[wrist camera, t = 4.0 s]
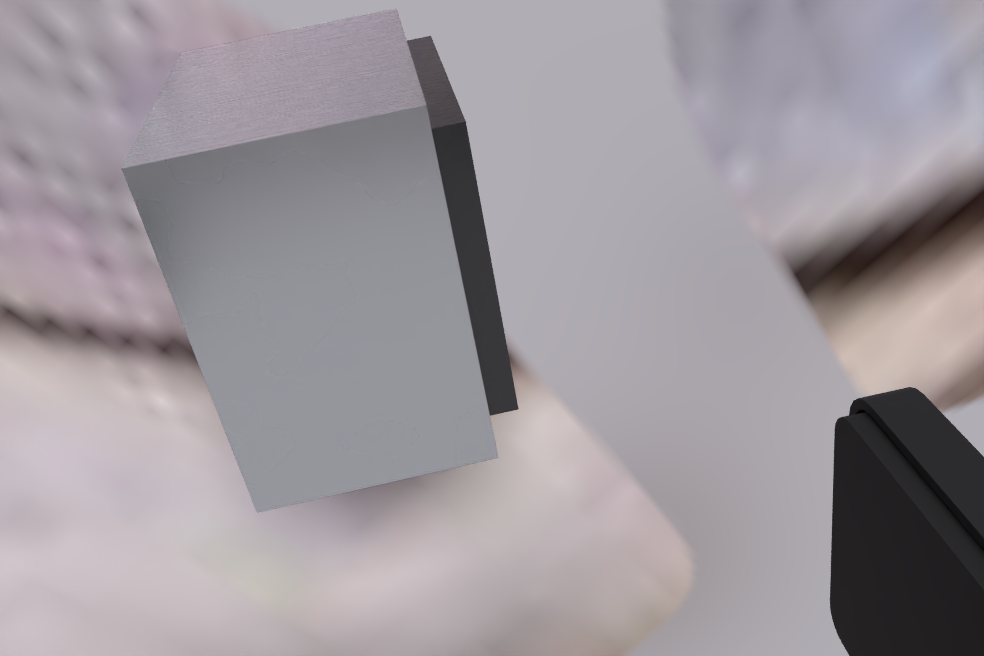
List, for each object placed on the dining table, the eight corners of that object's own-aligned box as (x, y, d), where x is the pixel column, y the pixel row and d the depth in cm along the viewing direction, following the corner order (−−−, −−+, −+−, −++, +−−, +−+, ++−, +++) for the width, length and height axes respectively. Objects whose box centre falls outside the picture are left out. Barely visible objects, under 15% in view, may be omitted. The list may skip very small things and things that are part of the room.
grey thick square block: (423, 2, 17) (464, 97, 12) (477, 282, 21) (528, 451, 15) (181, 51, 17) (121, 168, 12) (274, 327, 20) (257, 513, 15)
